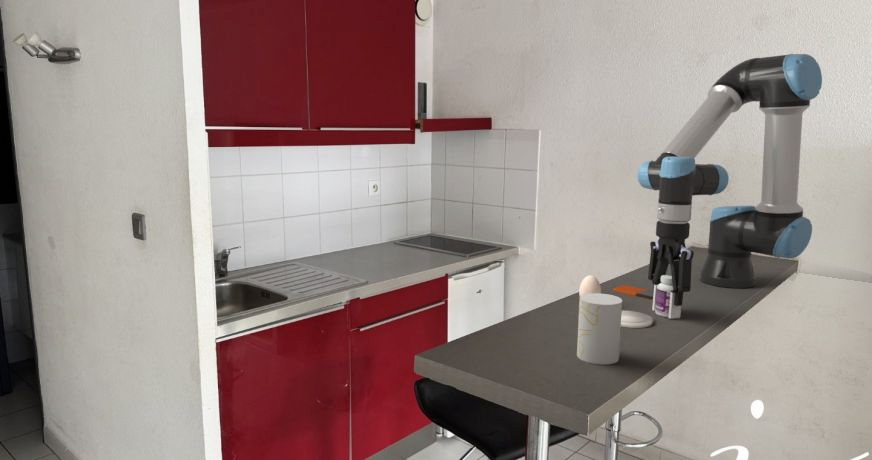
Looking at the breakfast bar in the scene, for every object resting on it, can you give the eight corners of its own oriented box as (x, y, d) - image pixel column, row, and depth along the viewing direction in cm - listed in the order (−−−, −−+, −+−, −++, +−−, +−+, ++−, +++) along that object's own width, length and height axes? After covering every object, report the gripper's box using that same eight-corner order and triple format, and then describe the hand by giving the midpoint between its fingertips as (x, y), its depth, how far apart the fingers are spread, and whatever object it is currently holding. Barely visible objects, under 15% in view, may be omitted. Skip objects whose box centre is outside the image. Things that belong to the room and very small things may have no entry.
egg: (604, 306, 155) (606, 276, 153) (589, 309, 152) (591, 279, 151) (589, 301, 159) (590, 272, 158) (574, 304, 157) (575, 274, 155)
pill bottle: (667, 319, 144) (670, 280, 143) (650, 313, 149) (653, 275, 148) (683, 316, 147) (686, 277, 145) (665, 310, 152) (668, 273, 150)
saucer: (635, 312, 150) (635, 308, 150) (662, 326, 139) (662, 321, 139) (595, 315, 147) (596, 311, 147) (620, 329, 136) (620, 325, 136)
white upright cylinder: (571, 349, 124) (574, 293, 122) (609, 348, 125) (613, 292, 123) (584, 364, 116) (587, 305, 114) (625, 363, 117) (629, 304, 115)
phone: (624, 284, 174) (673, 295, 163) (624, 288, 174) (673, 299, 163) (612, 288, 170) (661, 299, 159) (611, 292, 170) (661, 304, 159)
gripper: (637, 216, 152) (630, 304, 156) (685, 227, 134) (677, 326, 138) (662, 215, 154) (656, 302, 158) (713, 226, 136) (704, 324, 140)
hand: (665, 313), depth 148 cm, fingers open, 6 cm apart
